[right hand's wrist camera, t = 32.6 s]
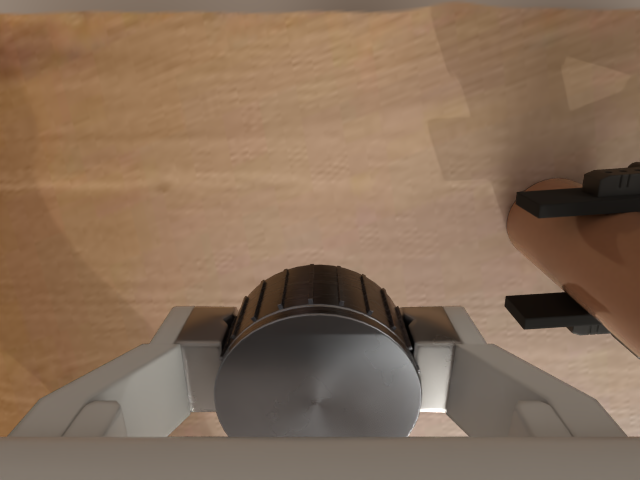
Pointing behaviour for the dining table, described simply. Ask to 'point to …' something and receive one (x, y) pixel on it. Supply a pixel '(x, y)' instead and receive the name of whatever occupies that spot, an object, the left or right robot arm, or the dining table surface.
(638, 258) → the bottle
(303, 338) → the cap
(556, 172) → the dining table surface
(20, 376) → the dining table surface
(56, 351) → the dining table surface
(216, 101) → the dining table surface
